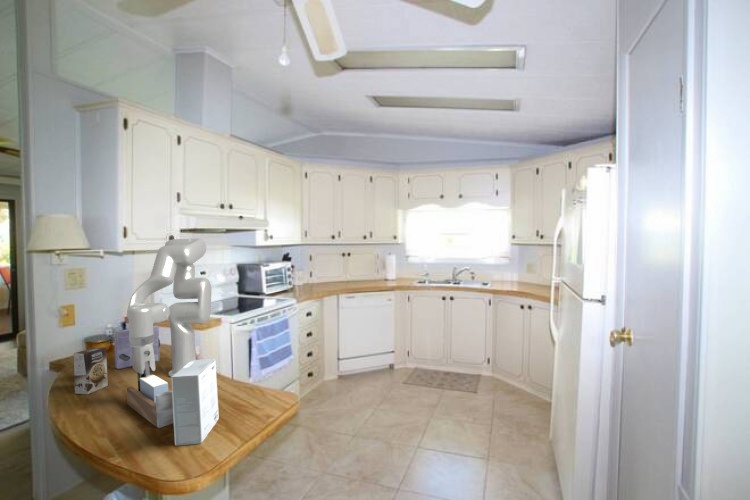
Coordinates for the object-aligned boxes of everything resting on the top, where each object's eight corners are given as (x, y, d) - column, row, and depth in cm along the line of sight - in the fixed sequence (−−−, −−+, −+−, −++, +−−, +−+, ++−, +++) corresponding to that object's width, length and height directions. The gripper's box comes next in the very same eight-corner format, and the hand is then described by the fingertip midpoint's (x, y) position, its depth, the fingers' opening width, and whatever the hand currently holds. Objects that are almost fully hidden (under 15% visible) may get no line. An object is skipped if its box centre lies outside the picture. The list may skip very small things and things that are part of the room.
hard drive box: (194, 421, 123) (192, 359, 122) (219, 419, 123) (216, 358, 123) (173, 446, 107) (170, 376, 107) (201, 444, 108) (198, 374, 108)
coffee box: (87, 394, 149) (86, 353, 148) (74, 393, 150) (72, 353, 150) (108, 385, 158) (106, 347, 157) (95, 385, 159) (94, 346, 159)
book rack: (155, 396, 145) (154, 369, 145) (189, 417, 125) (187, 387, 125) (127, 404, 138) (126, 376, 138) (158, 428, 118) (156, 396, 118)
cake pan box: (159, 358, 196) (157, 324, 195) (162, 360, 192) (160, 325, 192) (114, 367, 182) (113, 331, 182) (117, 370, 178) (115, 332, 178)
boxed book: (154, 401, 139) (153, 374, 139) (169, 412, 130) (168, 382, 130) (140, 406, 136) (139, 377, 136) (154, 417, 127) (153, 386, 126)
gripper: (160, 341, 137) (162, 392, 137) (146, 335, 147) (148, 383, 147) (136, 346, 132) (139, 399, 132) (123, 339, 142) (125, 389, 142)
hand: (143, 390), depth 140 cm, fingers closed
